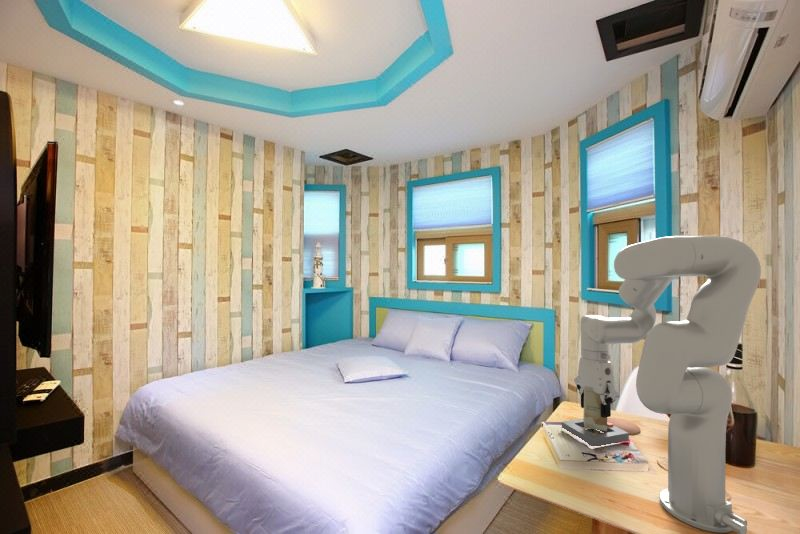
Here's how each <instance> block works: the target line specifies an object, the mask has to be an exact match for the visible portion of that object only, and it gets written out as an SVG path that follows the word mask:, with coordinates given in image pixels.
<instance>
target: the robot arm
mask: <svg viewBox="0 0 800 534" xmlns="http://www.w3.org/2000/svg"><path fill="white" fill-rule="evenodd" d="M613 269H614V272H615V274H616V275H617V276H618V277H619V278H620V279H623V280H624V281H623V282H622V283H621V284H620V286H619V288H618V294H619V298H621V300H622V301H623V302H624V303H625V304H627V305H628V306H630V307H632V308H634V309H633V311H632V312H631V313H630V315H629V316H627V317H624V316H623V317H605V316H603V315H600V314H599V315H597V314H586V315H582V316H581V317H580V358H579V362H578V372H577V374H578V375H577V376H576V377H575V378H574V379H573V382H574V383H575V386H576V388H577V390H578V394H579V395H580V408H581V409H584V388H585V387H587V388H589V389H591V390H593V392H594V393H597V394H599V395H600V398H601V401H602V403H603V404H601V417H603V418H605V417H607V418H611V414H612V413H611V411H612V410H611V405H613V403H615V401H617V399H618V398H620V394H619V393H618V392H617V390H616V389H615V377H614V370H613V369H614V368H613V365H612V362H611V361H610V359H611V355H610V354H609V345H616V344H635V343H639V342H640V341H641V340H643V339H644V338H645V339H644V342H643V347H642V352H641V355H640V360H639V364H638V368H637V374H636V377H635V378H636V380H635V388H636V394H637V396H638V399H639V401H640V402H641V403H642V405H643V406H644V407H645V408H646V409H647V410H649V411H651V412H654V413H655V414H656V413H657V414H661V415H670V416H669V420H668V427H667V428H668V429H667V488H665V489H663V490H661V491H660V493H659V502H660V504H661V506H662V507H663V509H664V510H666V511H667V512H668V513H669V514H671V515H672V516H673V517H674V518H677V519H678V520H680V521H681V522H684V523H685V524H687V525H689V526H692V527H694V528H698V529H699V530H700V529H701V530H703V531H705V532H711V533H712V532H713V533H717V534H718V533H719V534H723V533H730V532H733V531H734V532H735V533H737V534H747V533H748V528H747V525H748V520H746V519H745V518H743V517H742V516H739V515H737V514H735V513H734V511H732V510H733V507H732V506H733V503H732V502H731V501H728V500H726V449H727V447H726V445H727V443H726V441H727V438H726V437H727V435H726V434H727V423H728V418H729V414H730V410H731V407H732V402H733V392H732V387H731V386H730V383H729V382H728V380H727V379H726V377H725V376H723V374H722V373H720V372H718V371H717V370H714V369H713V368H714V367H721V366H725V365H728V364H729V363H730V362H732V360H733V358H734V357H735V354H736V352H737V349H738V346H739V342H740V339H741V336H742V332H743V329H744V325H745V323H746V319H747V318H746V317H747V315H748V311H749V307H750V306H751V302H752V300H753V298H754V296H755V294H756V292H757V290H758V286H759V284H760V280H761V274H762V266H761V262H760V260H759V258H758V255H757V254H756V253H755V251H754V250H753V249H752V248H751V247H750V246H749V245H747V244H746V243H744V242H743V241H740V240H739V239H738V240H737V239H735V238H732V237H726V236H718V235H717V236H716V235H695V236H693V235H690V236H689V235H673V236H672V235H671V236H668V235H667V236H663V237H658V238H654V239H649V240H646V241H641V242H638V243H634V244H629V245H627V246H625V247H623V248H622V249H620V250H619V251H618V253H617V254H616V256H615V259H614V261H613ZM676 277H706V278H707V280H706V281H705V283H703V284H702V285H701V286H700V287H699V288H698V290H697V291H696V292H695V293H694V295H693V297H692V300H691V302H690V307H689V310H688V314H687V317H686V318H685V319H684V320H680V321H679V320H678V321H677V320H675V321H672V320H671V321H664V322H660V323H658V324H656V320H657V311H656V307H655V304H656V302H657V300H658V299H659V298H660V297H661V296H662V294H663V293H664V291H665V290H666V289H667V288H668V286H669V285H670V284H671V283H672V281H674V279H675V278H676ZM605 391H606V392H607V393H605ZM605 395H606V398H607V399H605V397H604V396H605Z"/></svg>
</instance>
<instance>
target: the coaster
mask: <svg viewBox="0 0 800 534" xmlns="http://www.w3.org/2000/svg"><path fill="white" fill-rule="evenodd" d="M607 422H609V423H611V424H613V425H614V426H616V427H618V428H620V429H622V430H624V431H626V432H628V433H629V436H630V435H632V436H633V435H638V434H640V433H641V427H640V426H639V425H637V424H636V423H633V422H631V421H629V420H626V419H621V418H618V417H617V418H616V417H607Z"/></svg>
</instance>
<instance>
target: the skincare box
mask: <svg viewBox="0 0 800 534" xmlns="http://www.w3.org/2000/svg"><path fill="white" fill-rule="evenodd" d="M605 393H607V392H606V391H605ZM604 397H605V399H607V398H606V395H605V396H604ZM601 404H603V403H602V401H601V398H600V395H599V394H597V393H594V392H593V390H591V389H589V388H587V387H585V388H584V408H583V418H584V426H585V428H591V429H593V430H594V429H597V430H603V431H607V418H608V417H605V418H603V417H601Z"/></svg>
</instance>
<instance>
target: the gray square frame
mask: <svg viewBox="0 0 800 534" xmlns="http://www.w3.org/2000/svg"><path fill="white" fill-rule="evenodd" d="M581 427H585V426H584V417H583V418H578V419H571V420H564V421H561V429H562V428H564V429H566V430H567V431H569V432H571V433H572V434H574V435H576V436H578V437H579V438H581V439H582V440H584V441H585V442H587V443H588V444H589V445H591V446H601V445H606V444H611V443H618V442H622V441H629V442H630V440H629V438H630V437H629V436H630V435H629V433H628V432H626V431H624V430H622V429H620V428H618V427H616V426H614V425H613V424H611V423H609V422H607V431H603V430H600V431H602V432H604V433H597V434H594V433H592V432H590V431H589V430H585V429H583V428H581Z"/></svg>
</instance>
